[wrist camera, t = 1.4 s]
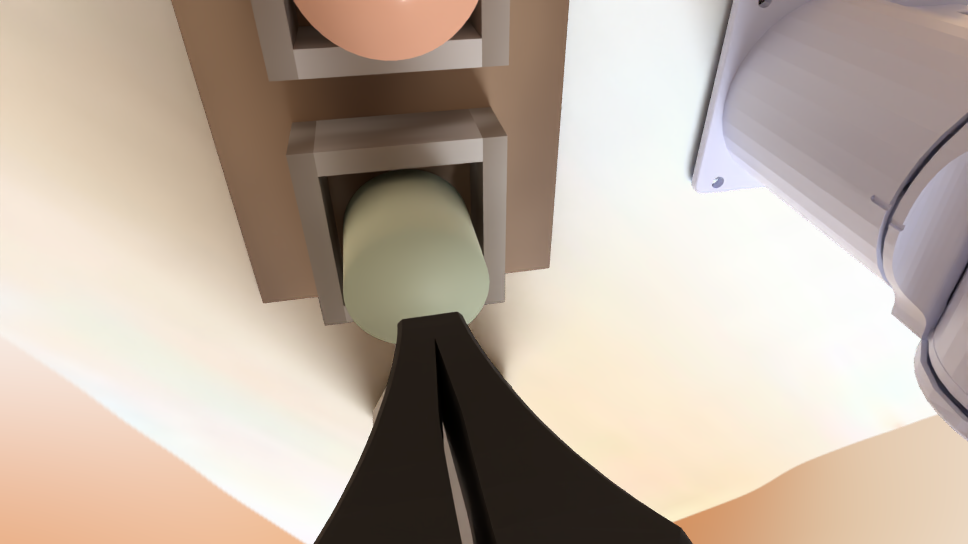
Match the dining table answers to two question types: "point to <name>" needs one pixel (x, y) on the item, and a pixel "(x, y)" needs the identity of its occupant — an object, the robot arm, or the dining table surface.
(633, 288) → the dining table surface
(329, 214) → the button board
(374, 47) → the terracotta button
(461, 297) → the sage button
